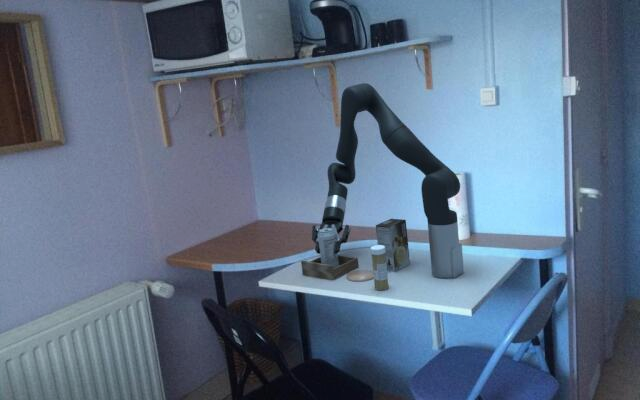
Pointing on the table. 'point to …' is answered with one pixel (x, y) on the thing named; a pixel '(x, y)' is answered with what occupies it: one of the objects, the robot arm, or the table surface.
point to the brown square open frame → (329, 268)
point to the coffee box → (394, 243)
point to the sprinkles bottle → (379, 267)
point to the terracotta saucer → (360, 275)
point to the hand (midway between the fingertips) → (326, 252)
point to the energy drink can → (327, 247)
